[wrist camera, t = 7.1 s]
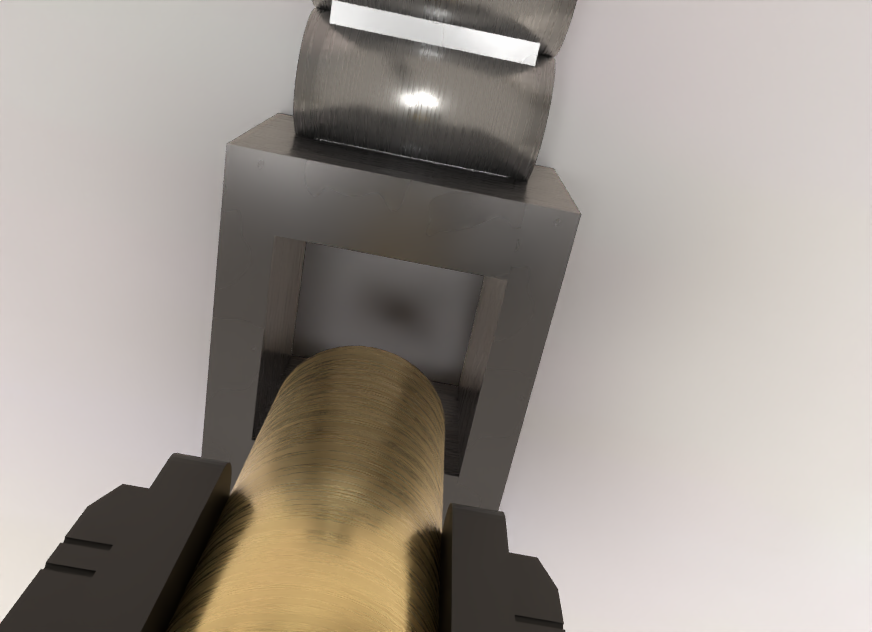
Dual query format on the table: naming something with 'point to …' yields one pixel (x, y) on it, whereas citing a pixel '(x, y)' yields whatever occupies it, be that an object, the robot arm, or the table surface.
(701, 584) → the table surface
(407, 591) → the brass pin
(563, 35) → the dark grey slotted block
